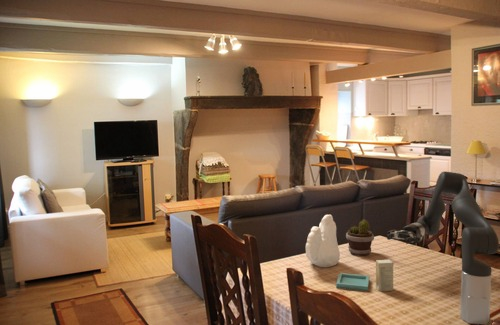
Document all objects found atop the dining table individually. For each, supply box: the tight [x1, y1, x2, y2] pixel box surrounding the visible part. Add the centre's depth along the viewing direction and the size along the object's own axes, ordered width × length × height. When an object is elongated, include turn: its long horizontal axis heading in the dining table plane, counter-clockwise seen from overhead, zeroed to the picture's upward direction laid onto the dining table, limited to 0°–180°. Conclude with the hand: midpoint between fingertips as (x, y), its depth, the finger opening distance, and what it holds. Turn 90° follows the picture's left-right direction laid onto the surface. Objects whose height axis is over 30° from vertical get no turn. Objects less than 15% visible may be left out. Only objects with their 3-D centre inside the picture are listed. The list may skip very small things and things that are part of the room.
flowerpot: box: [345, 218, 375, 256], centre depth 226 cm, size 14×15×20 cm
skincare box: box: [375, 259, 394, 292], centre depth 178 cm, size 6×4×12 cm
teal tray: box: [335, 272, 370, 292], centre depth 184 cm, size 13×13×2 cm
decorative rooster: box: [305, 214, 341, 268], centre depth 207 cm, size 25×16×25 cm, turn 130°
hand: (397, 239), depth 184 cm, fingers open, 8 cm apart
